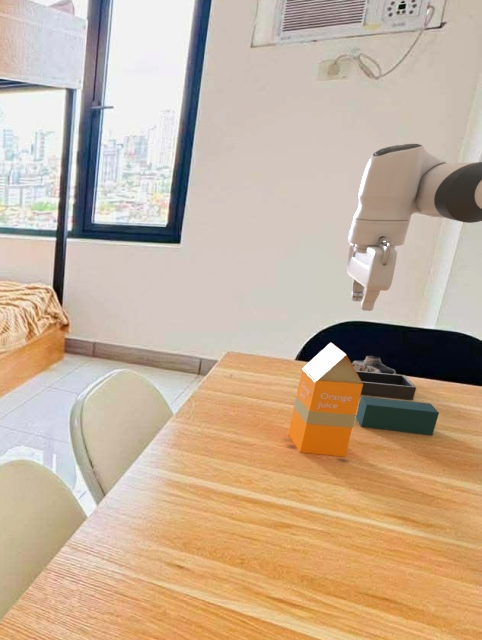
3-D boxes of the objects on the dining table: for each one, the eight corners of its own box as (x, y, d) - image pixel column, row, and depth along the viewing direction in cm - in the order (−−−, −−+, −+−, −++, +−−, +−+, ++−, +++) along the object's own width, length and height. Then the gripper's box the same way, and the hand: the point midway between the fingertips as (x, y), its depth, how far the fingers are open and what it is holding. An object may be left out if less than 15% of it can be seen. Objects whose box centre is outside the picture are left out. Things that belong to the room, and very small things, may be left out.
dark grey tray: (401, 387, 154) (404, 375, 153) (412, 400, 145) (416, 387, 144) (323, 379, 160) (326, 368, 159) (330, 391, 152) (333, 379, 151)
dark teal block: (424, 425, 131) (430, 403, 130) (432, 435, 127) (439, 412, 125) (355, 417, 136) (361, 396, 134) (361, 426, 131) (366, 404, 130)
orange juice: (299, 452, 120) (321, 352, 114) (287, 434, 128) (307, 340, 122) (346, 457, 118) (371, 355, 111) (331, 438, 126) (354, 342, 119)
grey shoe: (376, 379, 159) (380, 364, 158) (347, 367, 169) (350, 352, 167) (396, 379, 159) (400, 363, 158) (365, 367, 169) (369, 352, 168)
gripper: (413, 240, 111) (393, 317, 116) (384, 230, 128) (368, 296, 133) (369, 239, 113) (352, 314, 118) (347, 229, 131) (333, 295, 135)
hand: (360, 305), depth 126 cm, fingers open, 8 cm apart
